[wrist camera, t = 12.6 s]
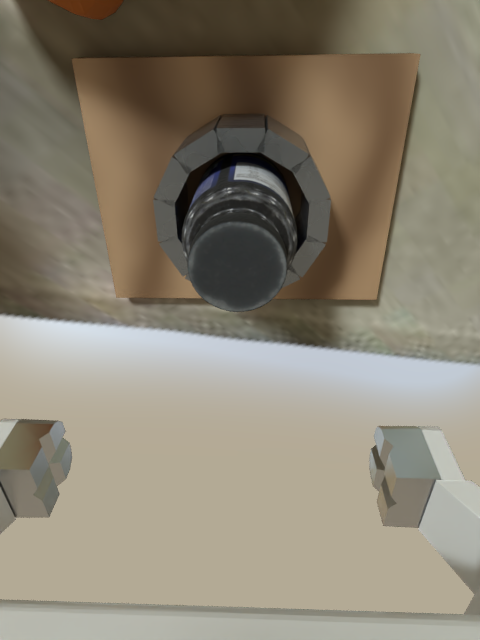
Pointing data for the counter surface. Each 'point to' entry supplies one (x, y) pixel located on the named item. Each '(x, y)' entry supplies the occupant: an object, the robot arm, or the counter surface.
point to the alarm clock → (90, 7)
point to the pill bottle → (239, 233)
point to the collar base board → (249, 98)
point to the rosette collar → (244, 137)
